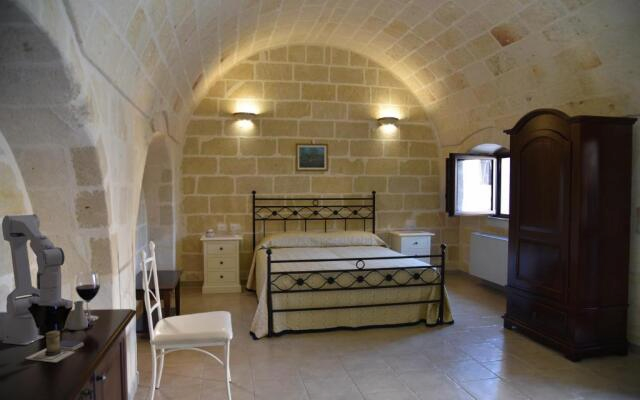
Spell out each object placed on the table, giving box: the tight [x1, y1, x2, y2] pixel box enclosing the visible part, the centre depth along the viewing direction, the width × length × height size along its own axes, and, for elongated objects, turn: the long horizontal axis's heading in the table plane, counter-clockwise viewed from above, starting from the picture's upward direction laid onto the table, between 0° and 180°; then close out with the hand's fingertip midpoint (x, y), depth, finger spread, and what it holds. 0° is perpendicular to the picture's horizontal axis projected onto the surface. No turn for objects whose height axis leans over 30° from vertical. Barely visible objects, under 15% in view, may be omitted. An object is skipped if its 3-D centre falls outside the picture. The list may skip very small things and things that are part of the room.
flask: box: [67, 300, 90, 331], centre depth 166 cm, size 7×7×10 cm
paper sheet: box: [24, 348, 75, 363], centre depth 140 cm, size 11×8×1 cm
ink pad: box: [60, 339, 84, 352], centre depth 147 cm, size 8×5×1 cm, turn 80°
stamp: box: [45, 330, 61, 356], centre depth 141 cm, size 4×4×7 cm
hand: (50, 328), depth 139 cm, fingers open, 7 cm apart
